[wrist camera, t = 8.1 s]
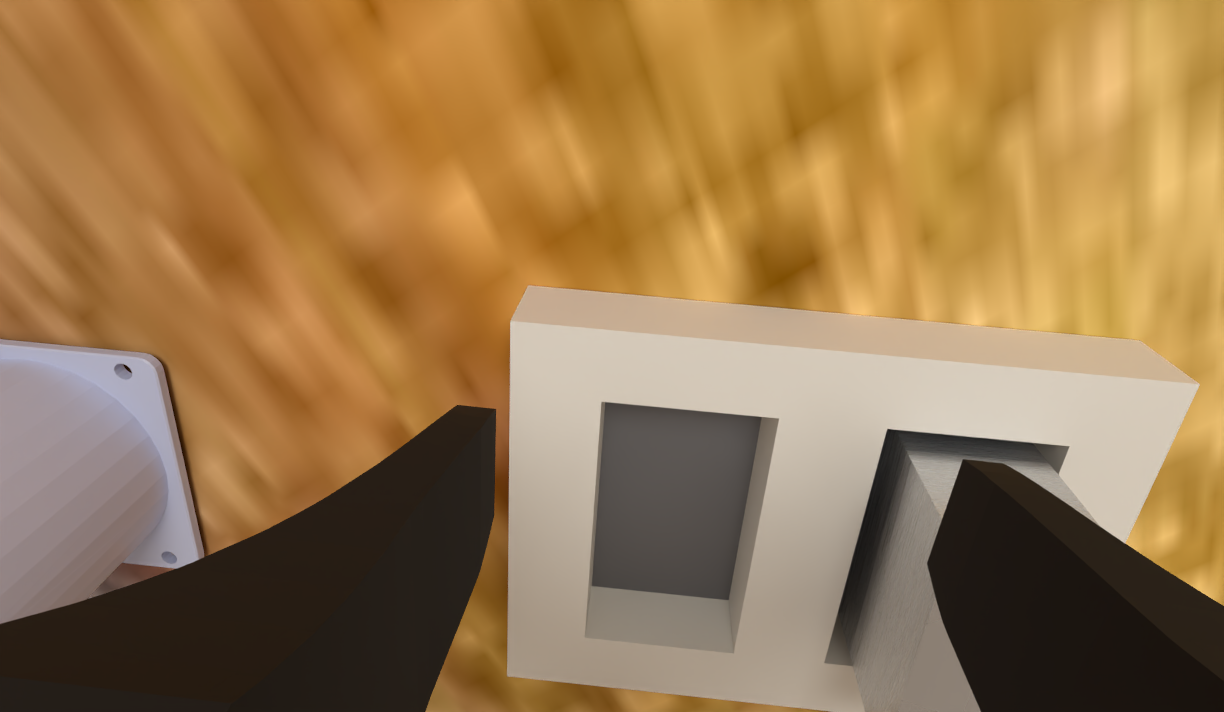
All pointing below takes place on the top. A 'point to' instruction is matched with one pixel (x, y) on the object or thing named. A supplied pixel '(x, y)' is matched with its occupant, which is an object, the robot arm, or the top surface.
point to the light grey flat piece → (766, 474)
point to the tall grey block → (916, 570)
